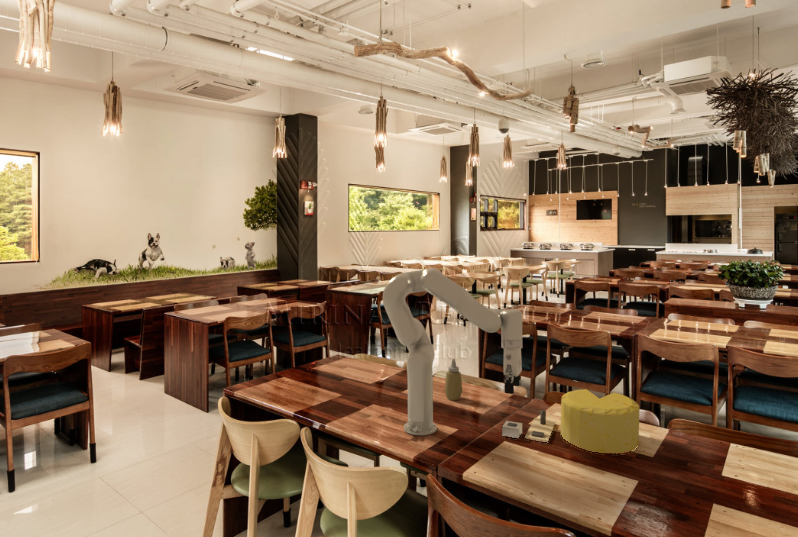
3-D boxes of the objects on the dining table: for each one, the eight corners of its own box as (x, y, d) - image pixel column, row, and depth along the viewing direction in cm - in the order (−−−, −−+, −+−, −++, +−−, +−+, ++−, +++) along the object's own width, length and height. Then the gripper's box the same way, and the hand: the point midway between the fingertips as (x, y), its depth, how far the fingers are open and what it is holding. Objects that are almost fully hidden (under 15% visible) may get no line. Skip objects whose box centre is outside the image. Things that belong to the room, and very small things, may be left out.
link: (518, 439, 176) (518, 429, 175) (502, 437, 178) (502, 426, 178) (522, 433, 181) (522, 423, 181) (506, 431, 184) (506, 420, 183)
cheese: (599, 421, 193) (600, 384, 192) (655, 447, 169) (657, 405, 168) (545, 431, 184) (546, 392, 183) (596, 460, 160) (597, 415, 159)
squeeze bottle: (463, 401, 217) (463, 361, 215) (445, 401, 217) (445, 361, 216) (461, 395, 225) (461, 357, 224) (443, 395, 225) (444, 357, 224)
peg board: (547, 443, 172) (548, 426, 172) (524, 439, 176) (525, 422, 175) (555, 424, 190) (555, 408, 190) (534, 420, 194) (534, 405, 193)
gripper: (517, 349, 169) (517, 397, 170) (526, 339, 184) (526, 383, 185) (495, 347, 172) (496, 395, 173) (506, 338, 187) (507, 381, 189)
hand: (512, 389), depth 179 cm, fingers open, 9 cm apart
